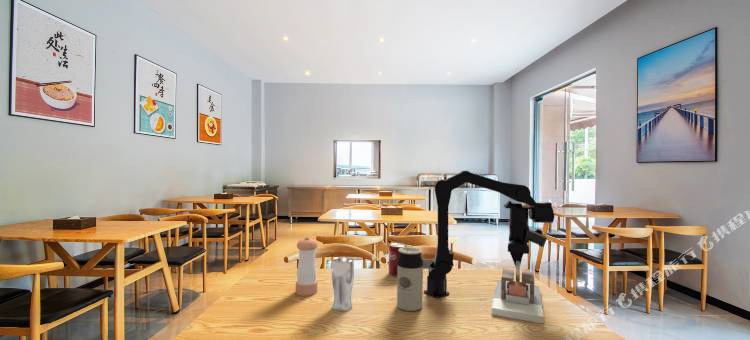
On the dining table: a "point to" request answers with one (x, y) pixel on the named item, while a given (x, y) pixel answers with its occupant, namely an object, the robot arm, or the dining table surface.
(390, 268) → the soda can
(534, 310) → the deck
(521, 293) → the block
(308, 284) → the pepper shaker
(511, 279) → the tunnel
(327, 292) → the dining table surface
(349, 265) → the beer glass
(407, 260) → the travel mug
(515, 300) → the grey piece
